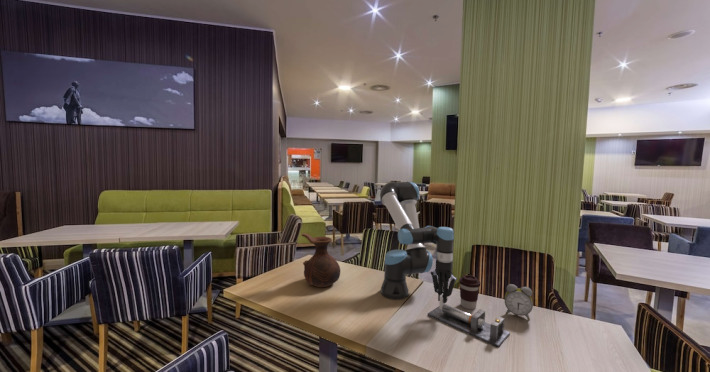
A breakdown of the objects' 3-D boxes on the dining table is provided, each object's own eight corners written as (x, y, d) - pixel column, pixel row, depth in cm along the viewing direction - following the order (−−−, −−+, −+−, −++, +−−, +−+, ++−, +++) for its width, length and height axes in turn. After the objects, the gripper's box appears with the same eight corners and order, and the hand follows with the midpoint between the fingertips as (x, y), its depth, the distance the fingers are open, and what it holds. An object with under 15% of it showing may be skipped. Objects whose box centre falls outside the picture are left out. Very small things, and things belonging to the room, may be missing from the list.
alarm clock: (503, 315, 139) (505, 285, 138) (503, 309, 145) (505, 280, 144) (531, 322, 133) (534, 290, 132) (530, 315, 139) (533, 285, 138)
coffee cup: (480, 312, 141) (482, 282, 140) (459, 309, 143) (461, 280, 142) (476, 302, 151) (478, 274, 150) (456, 300, 153) (458, 272, 152)
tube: (441, 313, 137) (441, 305, 137) (445, 310, 140) (446, 302, 140) (480, 330, 124) (481, 321, 123) (484, 327, 127) (485, 318, 126)
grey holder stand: (427, 315, 137) (428, 299, 137) (441, 306, 146) (442, 291, 146) (498, 347, 114) (499, 329, 114) (509, 334, 123) (511, 317, 123)
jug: (320, 273, 186) (321, 227, 184) (347, 281, 174) (348, 232, 171) (295, 284, 169) (295, 233, 166) (322, 295, 156) (323, 240, 153)
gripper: (427, 258, 139) (425, 305, 141) (453, 265, 130) (450, 316, 131) (436, 255, 144) (434, 301, 146) (461, 262, 135) (458, 310, 137)
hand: (442, 308), depth 139 cm, fingers closed
